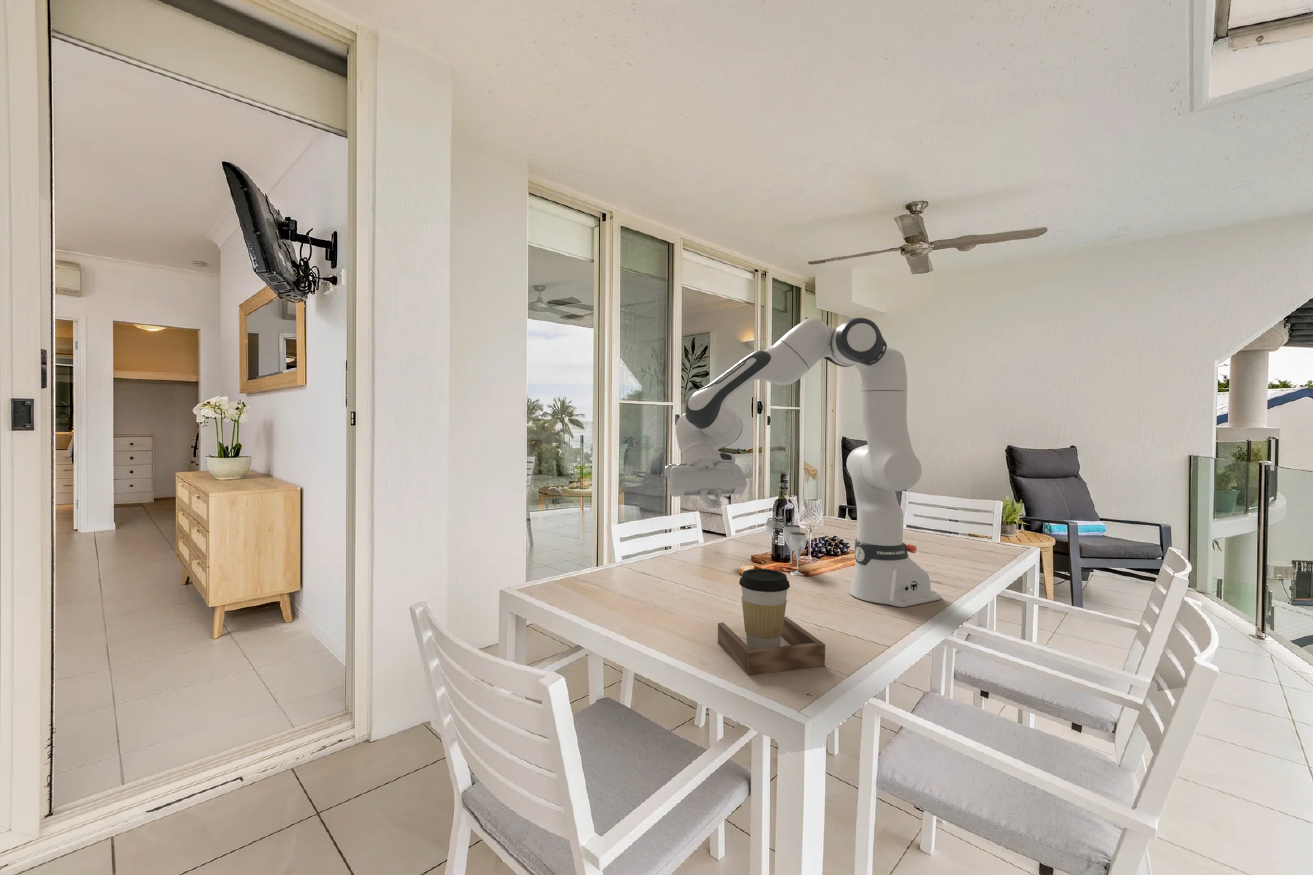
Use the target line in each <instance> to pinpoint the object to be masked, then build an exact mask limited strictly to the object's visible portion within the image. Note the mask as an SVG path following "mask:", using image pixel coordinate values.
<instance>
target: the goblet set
mask: <svg viewBox="0 0 1313 875" xmlns="http://www.w3.org/2000/svg"><path fill="white" fill-rule="evenodd" d="M773 518H774V517H768V518H767V519H766V522H765V529H766V531H767V532H768V533H769V535H770V536H771V537H772V538H773ZM783 537H784V540H785V542H786V544H787V547H788V549H789V552H790V555H789V556H790V564H792V565H793V552H794V555H795V556H796V567H797V570H793V571H794V572H792V571H790V573H789V574H790V575H793V576H805V575H804V574H802V573H800V572H801V571H800V572H799V569H798V568H799V563H800V562H799V561H800V556H801V554H803V551H804V550H805V548H806V546H807V534H806V533H805V532H801V527H800V525H798V524H792V521H790V523H788V524H787V525H784V528H783ZM770 553H771V552H767V553H766V555H768V554H770Z"/></svg>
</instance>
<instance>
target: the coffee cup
mask: <svg viewBox="0 0 1313 875" xmlns="http://www.w3.org/2000/svg"><path fill="white" fill-rule="evenodd" d="M741 575H742V576H740V578H739V581H738V584H739V585H740V586H741V594H742V595H741V603H742V604H741V605H742V616H743V625H744V632H745V636H746V637H745V639H746V644H747V645H748V646H749V647H750V648H751V649H752V650H753V649H762V648H771V647H780V646H781V639H782V636H781V635H782V631H783V624H784V617H786V616H785V615H786V608H787V607H786V606H787V602H788V600H787V594H788V590H789V588H790V587H791V584H790V581H789V579H788V578H787V574H786V573H785V572H782V571H779V570H776V569H770V568H750V569H746V570H744V571H743V572H742V574H741Z"/></svg>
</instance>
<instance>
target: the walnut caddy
mask: <svg viewBox="0 0 1313 875" xmlns="http://www.w3.org/2000/svg"><path fill="white" fill-rule="evenodd" d="M781 638H782V639H784V640H785V641H786V642H788V643H789V644H790V645H782V646H781V645H780V647H771V648H762V649H753V650H752V649H751V648H750V647H749V646H748V645H747V642H745V641H743V640H742V638H740V636H738V635H737V634H736V633H735V632H734V631H733V630H732V629H731V628H730V627H729V626H728V625H727V624H725V622H718V623H717V643H718V644H719V645H720V647H721V648H722V649H723V651H725V652H726V653H727V654H728V655H729V656H730V658H732V659H733V660H734V662H736V663H737V665H738V666H739V667H740V668H741V669H742V670H743V671H744V672H745V673H746V674H747V675H748V676H752V675H760V674H768V673H776V672H786V671H793V670H802V669H811V668H816V667H825V664H826V644H825V643H824V642H823V641H821V640H820V639H818V638H817V637H816V636H814V635H813V634H811V633H810V632H808V631H807V630H806V629H804V628H803V627H801V626H800V625H799V624H797V623H796V622H795V621H793V620H792V619H791V618H789V617H788V616H784V624H783V631H782V635H781Z"/></svg>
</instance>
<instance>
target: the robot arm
mask: <svg viewBox="0 0 1313 875" xmlns="http://www.w3.org/2000/svg"><path fill="white" fill-rule="evenodd" d="M882 335H883V334H882V332H881V330H880V328H879V327H878V326H877V324H876V323H875V322H874V321H872V320H871V319H869V318H866V317H853V318H851V319H848V320H846V321H845V322H843V323H842V324H840V325H839V326H837V327H831V326H828V325H827V323H825V322H823V321H822V320H821V319H818V318H816V317H809V318H806V319H803V321H801V322H800V323H798V324H797V325H795V326H794V327H792V328H791V329H790V330H789V331H788V332H786V333H785V334H784V335H783V336H781V338H779V340H777V341H776V342H775V343H774V344H773V345H771V346H769V347H768V348H767V349H765V350H756V351H754V352H752V353H750V354H749V355H747V356H745V357H743V358H742V359H741V360H739V361H738V362H737V363H735V364H733V366H732V367H730V368H729V369H727V370H726V371H725V372H724V373H722V374H721V375H720V376H718V377H717V378H715V379H714V380H713V381H712V382H710V383H708V384H707V385H705V386H703V387H701V388H699V389H697V390H696V391H694V392H693V393H692V394H691V395H690V396H689V397H688V399H687V400H686V403H685V406H684V407H685V409H684V413H683V414H682V415H680V417H678V419H677V420H676V424H675V436H676V440H677V441H676V442H677V446H678V448H679V451H680V452H681V458H682V463H676V464H675V463H669V464H668V465H666V466H665V467H664V469H663V470H664V474H665V477H666V478H667V485H668V492H669V494H670V495H671V496H672V497H675V498H676V497H677V498H678V497H698V496H699V498H700V499H701V500H702V501H703V502H704V503H705V504H706V506H707V509H720V508H721V503H722V502H721V496H726V495H730V496H731V495H743V494H744V492H745V491H746V489H747V486H748V481H747V478H746V475H745V473H744V471H743V470H742V468H741V467H740V465H739V464H738V463H736V461H737V458H736V456H735V455H734V454H731V453H726V452H722V451H719V450H721V449H724V448H725V447H728V446H730V445H732V444H734V443H735V442H736V441H737V440H738V439H739V438H740V436H741V434H742V432H743V427H744V426H743V420H742V419H741V417H739V415H738V414H737V413H736V412H735V410H733V409H732V408H731V407H730V406H729V405H728V404H727V403H726V402H727V400H728V399H730V398H731V397H733V396H734V395H735V394H736V393H738V392H739V391H740V390H741V389H743V388H744V387H745V386H747V385H748V384H750V383H751V382H754V381H757V380H761V381H766V382H769V383H771V384H773V385H777V386H789V385H792V384H794V383H796V382H797V381H799V380H800V379H802V377H803V376H804V375H805V374H806V373H808V371H810V370H811V368H813V367H814V366H815V365H816V364H817V363H818V362H819V361H820V360H822V359H825V360H826V361H829V363H832V364H834V365H836V366H838V367H842V368H848V367H853V366H855V367H856V369H858V371H859V374H860V379H861V385H860V406H859V408H860V409H859V411H860V412H859V422H860V425H861V426H862V428H863V431H864V434H865V439H866V443H867V444H865V445H862V446H859V447H856V448H854V449H853V450H852V451H851V452H850V453H849V454H848V456H847V459H846V469H847V471H848V474H849V476H850V478H851V482H852V488H853V492H854V499H855V504H856V538H855V540H854V559H855V562H854V570H853V571H854V572H853V575H852V580H851V583H850V587H849V589H848V593H849V594H850V595H851V596H853V597H855V598H857V599H860V600H862V601H866V602H870V603H877V604H883V605H890V606H894V607H899V608H900V607H901V608H904V607H910V606H916V605H919V604H925V603H929V602H934V601H938V600H941V599H942V596H941V594H940V593H939V592H938V591H936V590H934V589H933V588H932V587H931V579H930V576H929V574H928V572H927V571H926V570H925V569H924V568H922V567H921V566H920V565H919V564H917V563H916V562H915V561H914V560H913V559H911V558H910V557H909V554H908V553H911V554H916V552H917V551H918V548H917V545H914V544H910V543H909V544H906V543H905V542H904V540H903V539H904V538H903V537H904V511H903V509H902V507H901V506H900V504H899V501H898V497H897V493H896V492H902V491H907V490H909V489H912V488H913V487H915V486H916V485H917V484H918V482H919V481H920V480H921V477H922V471H923V469H922V464H921V462H920V460H919V458H918V457H917V455H916V454H915V452H914V449H913V447H912V442H911V438H910V434H909V427H908V419H907V414H908V413H907V409H908V408H907V407H908V406H907V405H908V377H907V376H908V375H907V374H908V373H907V366H906V360H905V356H904V355H903V354H902V352H901V351H899V350H897V349H895V348H891V347H888V345H887V342H886V341H885V339H884V336H882ZM710 496H713V498H711V497H710Z"/></svg>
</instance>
